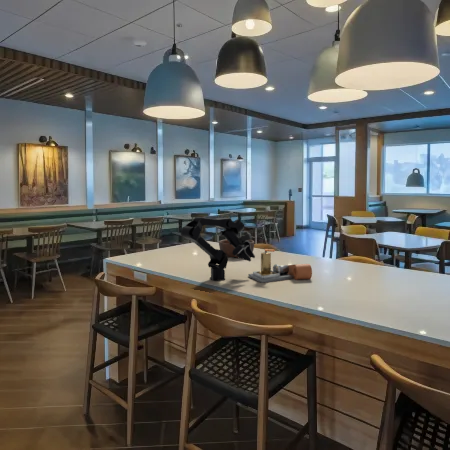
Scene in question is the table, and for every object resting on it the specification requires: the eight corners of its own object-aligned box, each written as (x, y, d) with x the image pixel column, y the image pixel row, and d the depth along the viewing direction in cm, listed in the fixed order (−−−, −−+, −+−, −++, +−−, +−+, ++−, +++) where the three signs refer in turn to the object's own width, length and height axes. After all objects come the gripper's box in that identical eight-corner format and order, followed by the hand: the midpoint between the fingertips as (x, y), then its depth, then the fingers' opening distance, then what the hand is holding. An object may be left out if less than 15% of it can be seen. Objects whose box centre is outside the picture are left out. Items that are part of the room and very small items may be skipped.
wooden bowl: (244, 260, 254) (244, 245, 253) (212, 257, 266) (212, 242, 265) (260, 254, 275) (260, 240, 274) (230, 251, 288) (229, 237, 287)
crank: (311, 280, 201) (312, 265, 200) (297, 281, 199) (297, 266, 198) (297, 271, 220) (297, 258, 219) (284, 272, 219) (284, 258, 218)
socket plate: (261, 282, 196) (261, 269, 195) (248, 276, 208) (248, 264, 208) (294, 278, 204) (294, 265, 203) (279, 273, 217) (279, 260, 216)
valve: (257, 276, 202) (257, 250, 201) (260, 273, 209) (260, 248, 208) (273, 277, 200) (273, 251, 198) (275, 274, 207) (275, 248, 205)
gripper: (238, 230, 197) (259, 252, 195) (247, 226, 214) (266, 246, 212) (223, 244, 200) (244, 266, 198) (233, 239, 218) (252, 259, 215)
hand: (252, 259), depth 206 cm, fingers open, 9 cm apart
